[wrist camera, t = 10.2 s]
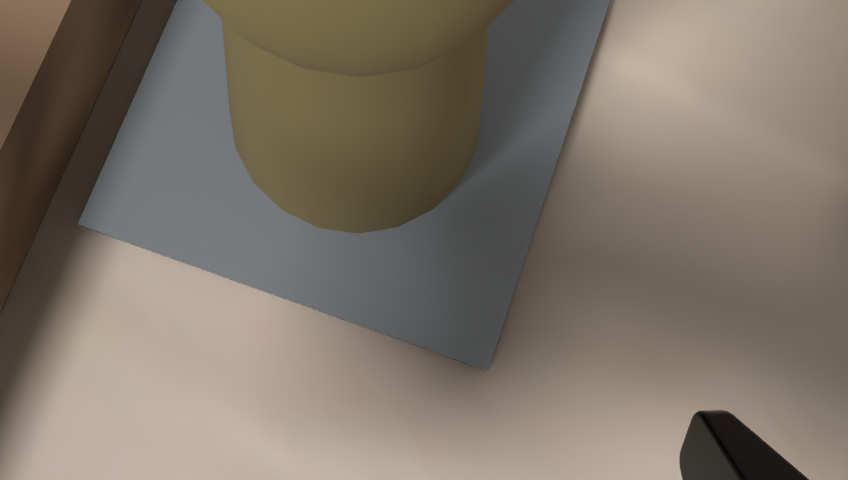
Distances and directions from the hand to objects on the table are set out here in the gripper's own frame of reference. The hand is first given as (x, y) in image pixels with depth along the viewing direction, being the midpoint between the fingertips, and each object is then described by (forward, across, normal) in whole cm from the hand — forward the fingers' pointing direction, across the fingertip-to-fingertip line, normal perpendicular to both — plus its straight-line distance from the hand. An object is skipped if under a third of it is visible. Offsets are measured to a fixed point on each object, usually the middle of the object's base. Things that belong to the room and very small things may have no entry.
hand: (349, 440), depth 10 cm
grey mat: (+11, 0, +1) cm, 11 cm away
